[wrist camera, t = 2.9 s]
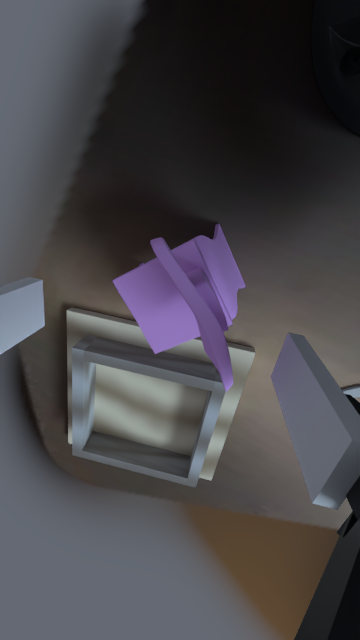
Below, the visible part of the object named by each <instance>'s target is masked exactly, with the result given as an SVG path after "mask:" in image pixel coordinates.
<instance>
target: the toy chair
mask: <svg viewBox="0 0 360 640" xmlns="http://www.w3.org/2000/svg"><path fill="white" fill-rule="evenodd" d="M150 243H151V246H152V249H153V251H154V253H155V255H156V256H157V258H155V259H153V260H151V261H149V262H147V263H145V264H144V263H143V262H142V263H140V264H139V267H137V268H135V269H133V270H131V271H129V272H127V273H125V274H123V275H121V276H119V277H117V278H115V279H114V280H112V282H113V283H114V285H115V287H116V288H117V290H118V292H119V294H120V295H121V297H122V299H123V300H124V302H125V303H126V305H127V306H128V308H129V310H130V311H131V313H132V314H133V316H134V318H135V320H136V321H137V323H138V325H139V327H140V328H141V330H142V332H143V334H144V336H145V338H146V340H147V341H148V343H149V345H150V346H151V348H152V350H153V352H154V353H155V354H156V353H159V352H162V351H164V350H167V349H170V348H172V347H174V346H177V345H179V344H182V343H184V342H187V341H189V340H192V339H194V338H197V337H200V336H201V339H202V343H203V347H204V350H205V352H206V354H207V355H208V357H209V358H210V359H211V361H212V362H213V364H214V365H215V367H216V368H217V370H218V372H219V374H220V377H221V380H222V383H223V386H224V389H225V391H228V390H229V389H230V388H231V386H232V385H233V373H232V365H231V359H230V354H229V349H228V345H227V342H226V339H225V336H224V333H223V332H224V331H227V330H228V326H230V325H233V324H232V319H233V318H235V316H236V314H237V290H238V289H239V288H244V287H245V284H244V281H243V279H242V277H241V274H240V272H239V269H238V267H237V265H236V262H235V260H234V257H233V255H232V253H231V250H230V248H229V246H228V243H227V241H226V238H225V236H224V234H223V231H222V229H221V227H220V224H219V223H218V224H216V225H215V232H214V237H213V239H209V238H208V237H206V236H203V235H200V236H197V237H195V238H193V239H191V240H190V241H188V242H186V243H184V244H182V245H180V246H178V247H176V248H174V249H172V250H170V248H169V247H168V245H167V243H166V242H165V240H164V239H163V238H162V237H160V238H156V239H153V240H150Z"/></svg>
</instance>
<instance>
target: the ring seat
mask: <svg viewBox="0 0 360 640" xmlns="http://www.w3.org/2000/svg"><path fill="white" fill-rule="evenodd" d="M227 345H228V349H229V354H230V359H231V365H232V373H233V385H232V386H231V388H230V389H229V390H228V391H225V389H224V386H223V383H222V380H221V377H220V374H219V372H218V370H217V368H216V367H215V365H214V364H213V362H212V361H211V359H210V358H209V357H208V355H207V354H206V352H205V350H204V347H203V343H202V339H201V336H200V337H197V338H194V339H192V340H189V341H187V342H184V343H182V344H179V345H177V346H174V347H172V348H170V349H167V350H164V351H162V352H159V353H156V354H155V353H154V352H153V350H152V348H151V346H150V345H149V343H148V341H147V340H146V338H145V336H144V334H143V332H142V330H141V328H140V327H139V325H138V323H137V322H136V321H132V320H127V319H123V318H118V317H114V316H109V315H105V314H100V313H96V312H91V311H87V310H82V309H78V308H74V307H71V308H70V309H68V310H67V377H68V443H70V444H72V455H74V456H78V457H82V458H86V459H90V460H93V461H97V462H101V463H105V464H108V465H112V466H116V467H120V468H123V469H127V470H131V471H135V472H139V473H142V474H146V475H150V476H154V477H157V478H161V479H165V480H169V481H172V482H176V483H180V484H184V485H188V486H191V487H195V488H196V485H197V482H198V478H203V479H207V480H212V477H213V474H214V471H215V468H216V466H217V463H218V460H219V457H220V454H221V451H222V448H223V445H224V442H225V440H226V437H227V434H228V431H229V428H230V425H231V422H232V419H233V416H234V414H235V411H236V408H237V405H238V402H239V399H240V396H241V393H242V390H243V388H244V385H245V382H246V379H247V376H248V373H249V370H250V367H251V364H252V362H253V359H254V356H255V349H254V348H252V347H247V346H243V345H239V344H234V343H230V342H227Z"/></svg>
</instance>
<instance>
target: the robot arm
mask: <svg viewBox="0 0 360 640" xmlns="http://www.w3.org/2000/svg"><path fill="white" fill-rule="evenodd" d="M311 48H312V59H313V66H314V71H315V75H316V79H317V83H318V85H319V88H320V91H321V93H322V96H323V98H324V100H325V102H326V103H327V105H328V107H329V108H330V110H331V111H332V113H333V114H334V115H335V116H336V118H337V119H338V120H339V121H340V122H341V123H342V124H343V125H345V126H346V127H347V128H348V129H350V130H351V131H353V132H354V133H356V134H358V135H359V136H360V0H315V2H314V9H313V16H312V28H311ZM44 326H45V321H44V301H43V281H42V280H41V279H36V278H31V277H28V278H24V279H21V280H18V281H15V282H12V283H9V284H6V285H3V286H0V354H2V353H3V352H5V351H6V350H8V349H10V348H11V347H13V346H14V345H16V344H17V343H19V342H20V341H22V340H24V339H25V338H27V337H28V336H30V335H31V334H33V333H34V332H36V331H37V330H39V329H41V328H42V327H44ZM271 379H272V382H273V385H274V388H275V391H276V394H277V397H278V400H279V403H280V406H281V409H282V412H283V415H284V418H285V421H286V424H287V427H288V430H289V433H290V437H291V440H292V443H293V446H294V449H295V452H296V455H297V458H298V461H299V464H300V467H301V470H302V473H303V476H304V479H305V482H306V485H307V488H308V491H309V495H310V498H311V501H312V503H313V504H317V505H321V506H325V507H329V508H333V509H337V510H338V508H339V507H340V505H341V504H342V503H343V501H344V500H345V498H346V497H347V499H348V501H349V504H350V506H351V508H352V510H353V511H352V513H351V514H350V515H349V517H348V518H347V519H346V521H345V522H344V523H343V525H342V526H341V527H340V529H339V530H338V531H337V533H338V534H339V535H340V537H339V539H338V541H337V544H336V546H335V548H334V550H333V552H332V555H331V557H330V559H329V562H328V564H327V566H326V568H325V571H324V573H323V575H322V577H321V580H320V582H319V584H318V586H317V589H316V591H315V593H314V596H313V598H312V600H311V602H310V605H309V607H308V609H307V611H306V614H305V616H304V618H303V621H302V623H301V625H300V628H299V630H298V632H297V634H296V637H295V639H294V640H360V403H359V402H358V401H357V400H356V399H354V398H353V397H352V396H351V395H348V394H344V393H343V391H342V390H341V388H340V387H339V386H338V384H337V383H336V381H335V380H334V378H333V377H332V376H331V374H330V373H329V371H328V370H327V368H326V367H325V366H324V364H323V363H322V361H321V360H320V359H319V357H318V356H317V354H316V353H315V351H314V350H313V349H312V347H311V346H310V344H309V343H308V342H307V340H306V339H305V337H304V336H302V335H297V334H293V333H288V334H287V337H286V339H285V342H284V344H283V347H282V350H281V352H280V355H279V357H278V360H277V362H276V365H275V367H274V370H273V373H272V375H271Z"/></svg>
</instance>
